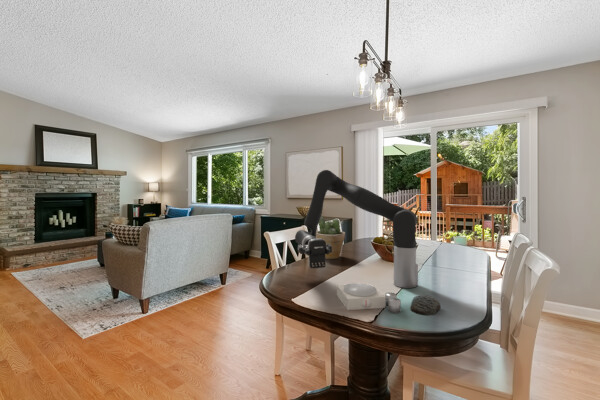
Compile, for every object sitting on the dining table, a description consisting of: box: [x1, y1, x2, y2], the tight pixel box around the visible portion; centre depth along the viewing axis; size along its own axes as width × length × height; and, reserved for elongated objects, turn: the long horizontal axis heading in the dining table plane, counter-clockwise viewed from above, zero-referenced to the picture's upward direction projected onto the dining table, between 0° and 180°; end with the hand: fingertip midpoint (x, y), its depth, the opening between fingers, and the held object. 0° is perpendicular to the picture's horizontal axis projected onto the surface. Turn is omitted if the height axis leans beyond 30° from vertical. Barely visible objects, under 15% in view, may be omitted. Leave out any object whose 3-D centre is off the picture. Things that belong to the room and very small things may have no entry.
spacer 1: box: [384, 292, 398, 308], centre depth 103 cm, size 4×4×4 cm
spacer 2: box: [388, 297, 402, 315], centre depth 98 cm, size 4×4×4 cm
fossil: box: [410, 294, 441, 316], centre depth 101 cm, size 10×13×4 cm
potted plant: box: [316, 216, 346, 260], centre depth 178 cm, size 18×19×25 cm
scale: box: [336, 282, 386, 311], centre depth 107 cm, size 14×14×5 cm
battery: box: [308, 239, 327, 269], centre depth 112 cm, size 7×4×11 cm, turn 102°
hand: (318, 252), depth 110 cm, fingers closed on battery, 7 cm apart
